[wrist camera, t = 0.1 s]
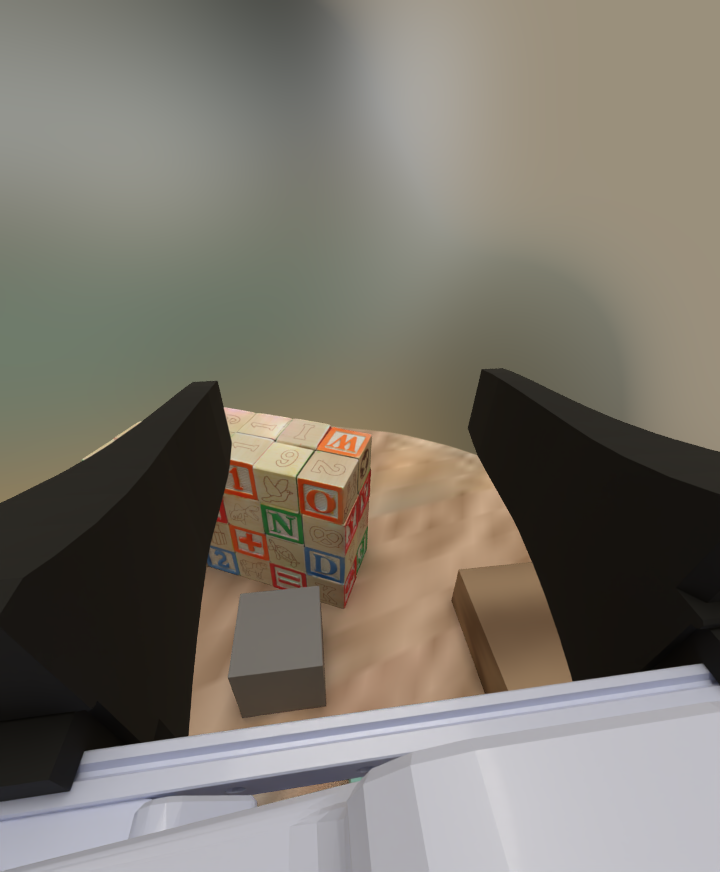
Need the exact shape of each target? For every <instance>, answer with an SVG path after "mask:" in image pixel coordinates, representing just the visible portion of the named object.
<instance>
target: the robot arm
mask: <svg viewBox="0 0 720 872" xmlns="http://www.w3.org/2000/svg"><path fill="white" fill-rule="evenodd" d="M468 430H469V433H470V436H471V439H472V442H473V444H474V447H475V449H476V452H477V455H478V457H479V459H480V461H481V463H482V464H483V466H484V468H485V470H486V472H487V474H488V475H489V477H490V479H491V481H492V483H493V484H494V486H495V488H496V490H497V491H498V493H499V495H500V497H501V498H502V500H503V502H504V504H505V506H506V507H507V509H508V511H509V513H510V514H511V516H512V518H513V520H514V522H515V524H516V526H517V528H518V530H519V532H520V535H521V537H522V539H523V542H524V544H525V546H526V549H527V551H528V554H529V556H530V558H531V561H532V563H533V566H534V568H535V571H536V574H537V576H538V579H539V581H540V584H541V587H542V589H543V592H544V594H545V597H546V600H547V603H548V606H549V609H550V612H551V615H552V617H553V620H554V623H555V626H556V629H557V632H558V635H559V638H560V641H561V645H562V648H563V651H564V654H565V658H566V661H567V664H568V668H569V671H570V674H571V677H572V681H573V682H567V683H560V684H553V685H546V686H539V687H532V688H525V689H518V690H511V691H504V692H497V693H490V694H483V695H476V696H469V697H462V698H455V699H448V700H440V701H433V702H426V703H419V704H412V705H405V706H398V707H391V708H384V709H377V710H370V711H363V712H356V713H349V714H342V715H335V716H328V717H321V718H314V719H307V720H300V721H293V722H286V723H279V724H272V725H265V726H258V727H251V728H244V729H236V730H229V731H222V732H215V733H208V734H201V735H194V736H188V735H189V721H190V709H191V696H192V684H193V673H194V663H195V654H196V644H197V634H198V626H199V618H200V610H201V601H202V594H203V587H204V580H205V573H206V566H207V559H208V554H209V550H210V545H211V541H212V537H213V533H214V529H215V526H216V522H217V518H218V514H219V510H220V507H221V503H222V499H223V495H224V491H225V487H226V483H227V479H228V475H229V468H230V459H231V448H232V441H231V436H230V432H229V428H228V423H227V419H226V415H225V411H224V406H223V403H222V398H221V394H220V389H219V385H218V382H217V381H206V382H193V383H191V384H189V385H188V386H187V387H185V388H184V389H183V390H181V391H180V392H179V393H177V394H176V395H175V396H174V397H172V398H171V399H170V400H169V401H168V402H166V403H165V404H164V405H162V406H161V407H160V408H158V409H157V410H156V411H155V412H153V413H152V414H151V415H150V416H148V417H147V418H146V419H144V420H143V421H142V422H140V423H139V424H138V425H136V426H135V427H133V428H132V429H130V430H129V431H128V432H126V433H125V434H123V435H122V436H121V437H119V438H118V439H116V440H115V441H114V442H112V443H111V444H109V445H108V446H106V447H105V448H103V449H101V450H100V451H98V452H97V453H95V454H93V455H92V456H90V457H88V458H87V459H85V460H83V461H82V462H80V463H78V464H76V465H75V466H73V467H71V468H70V469H68V470H66V471H64V472H62V473H60V474H59V475H57V476H55V477H53V478H51V479H49V480H47V481H44V482H43V483H40V484H39V485H36V486H34V487H33V488H30V489H28V490H26V491H24V492H22V493H20V494H19V495H16V496H14V497H12V498H10V499H8V500H6V501H4V502H1V503H0V872H720V452H718V451H714V450H710V449H706V448H703V447H699V446H696V445H692V444H689V443H685V442H682V441H678V440H674V439H672V438H668V437H665V436H662V435H659V434H655V433H653V432H650V431H647V430H644V429H641V428H639V427H636V426H633V425H630V424H627V423H624V422H622V421H620V420H617V419H614V418H612V417H609V416H607V415H605V414H602V413H600V412H598V411H595V410H593V409H591V408H588V407H586V406H584V405H582V404H580V403H577V402H575V401H573V400H571V399H569V398H567V397H565V396H563V395H560V394H558V393H556V392H554V391H552V390H550V389H548V388H546V387H544V386H542V385H539V384H538V383H536V382H534V381H532V380H530V379H527V378H525V377H523V376H521V375H519V374H516V373H514V372H512V371H509V370H506V369H503V368H500V369H482V370H481V375H480V379H479V383H478V387H477V392H476V396H475V401H474V404H473V409H472V413H471V417H470V421H469V426H468ZM359 777H363V778H362V779H361V780H360V781H357V782H353V783H349V784H345V785H341V786H337V787H333V788H329V789H325V790H321V791H317V792H313V793H309V794H305V795H302V796H298V797H294V798H290V799H286V800H282V801H278V802H274V803H270V804H266V805H262V806H258V807H257V801H256V800H255V798H254V797H253V796H252V795H254V794H260V793H266V792H273V791H279V790H285V789H291V788H297V787H304V786H310V785H316V784H322V783H328V782H335V781H341V780H347V779H353V778H359Z"/></svg>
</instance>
